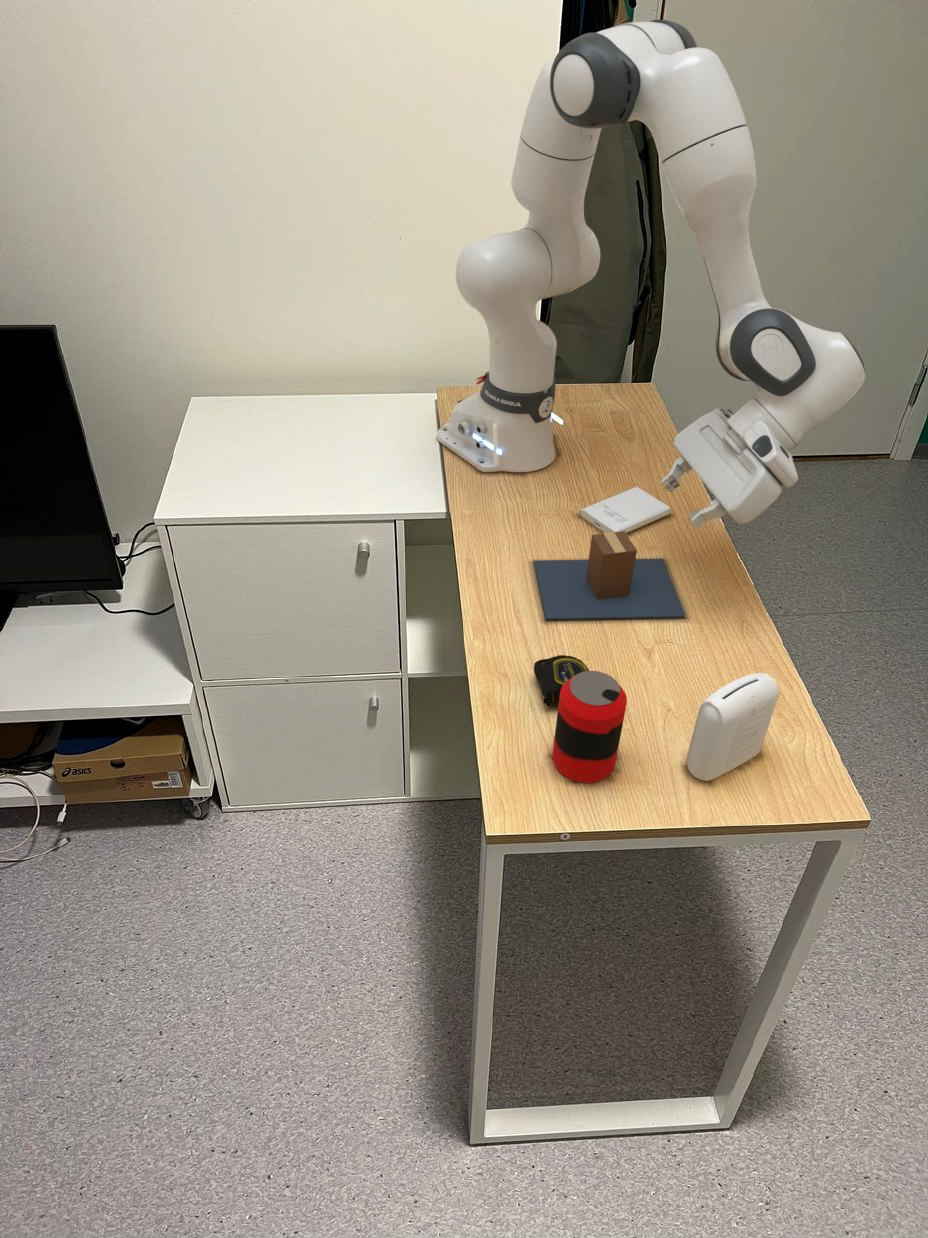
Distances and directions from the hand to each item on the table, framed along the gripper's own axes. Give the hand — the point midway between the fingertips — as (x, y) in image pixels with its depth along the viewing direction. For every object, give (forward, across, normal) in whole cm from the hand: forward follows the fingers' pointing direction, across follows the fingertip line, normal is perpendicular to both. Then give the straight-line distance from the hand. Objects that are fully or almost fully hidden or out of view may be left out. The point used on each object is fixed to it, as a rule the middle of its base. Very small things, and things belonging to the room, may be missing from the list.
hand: (678, 504), depth 135 cm
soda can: (+26, +32, -6) cm, 42 cm away
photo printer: (+14, +35, +5) cm, 38 cm away
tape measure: (+26, +20, -6) cm, 33 cm away
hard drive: (+9, -18, +10) cm, 23 cm away
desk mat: (+16, 0, +4) cm, 16 cm away
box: (+16, 0, +3) cm, 16 cm away
